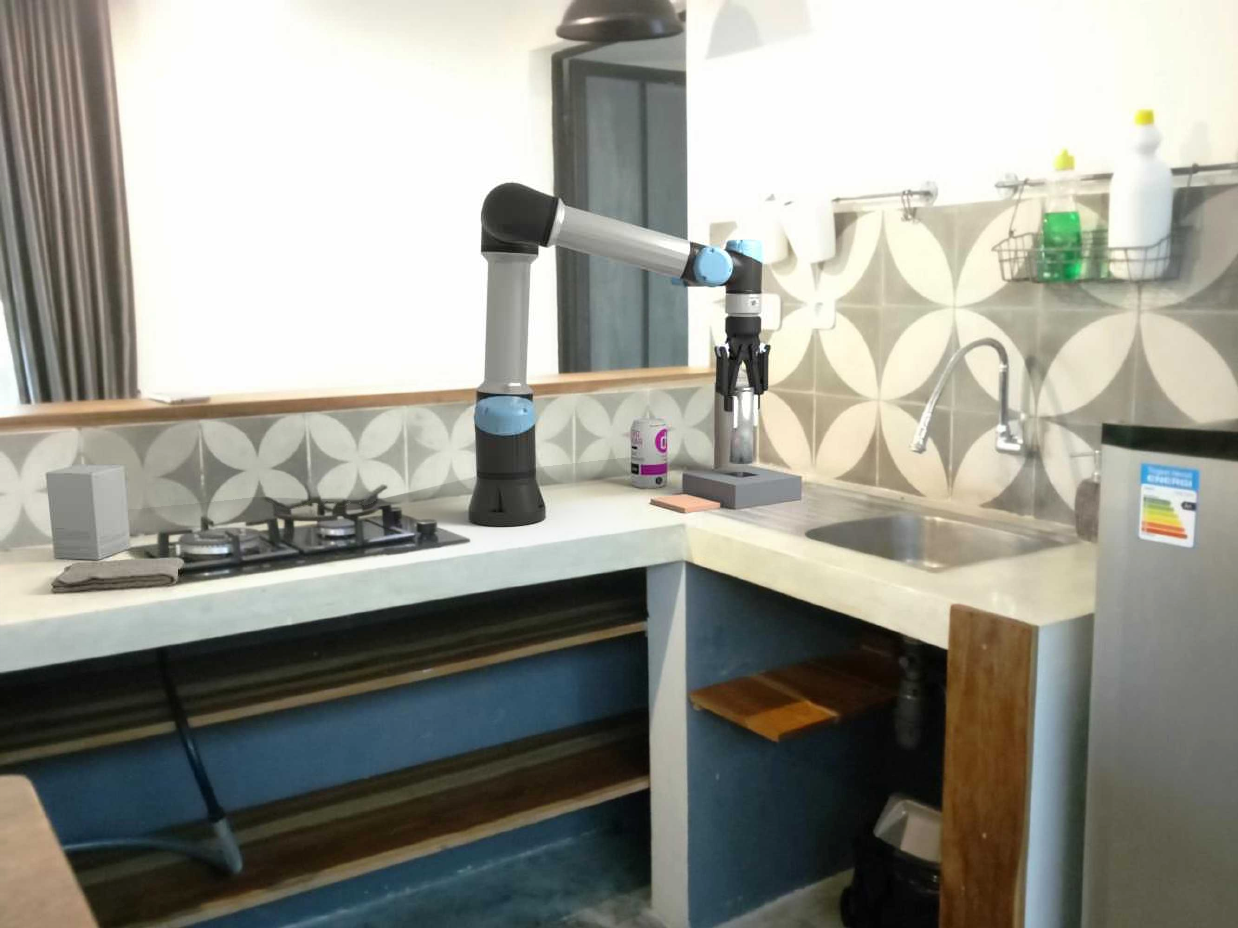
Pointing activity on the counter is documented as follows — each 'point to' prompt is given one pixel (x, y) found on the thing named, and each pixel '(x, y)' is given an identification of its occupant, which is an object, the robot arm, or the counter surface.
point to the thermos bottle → (724, 427)
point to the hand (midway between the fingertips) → (741, 425)
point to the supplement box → (88, 511)
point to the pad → (685, 503)
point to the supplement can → (649, 453)
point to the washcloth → (117, 575)
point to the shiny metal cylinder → (743, 427)
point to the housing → (742, 486)
